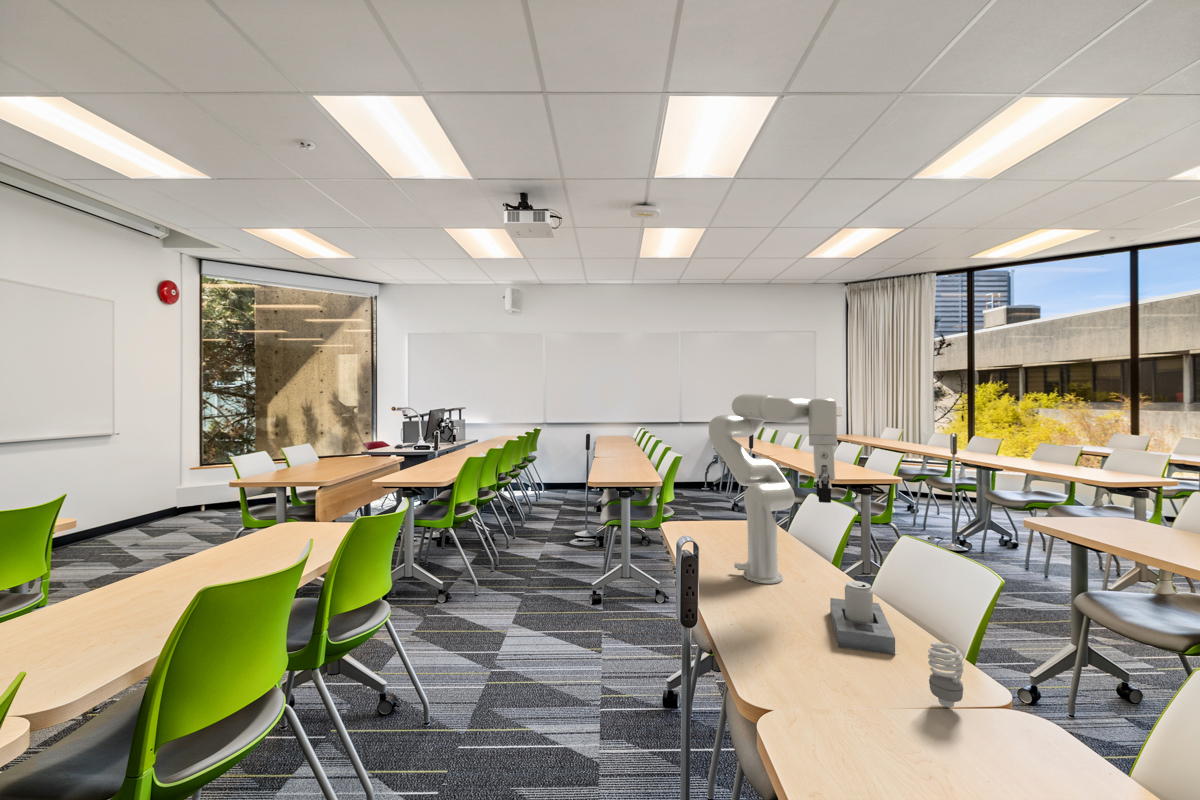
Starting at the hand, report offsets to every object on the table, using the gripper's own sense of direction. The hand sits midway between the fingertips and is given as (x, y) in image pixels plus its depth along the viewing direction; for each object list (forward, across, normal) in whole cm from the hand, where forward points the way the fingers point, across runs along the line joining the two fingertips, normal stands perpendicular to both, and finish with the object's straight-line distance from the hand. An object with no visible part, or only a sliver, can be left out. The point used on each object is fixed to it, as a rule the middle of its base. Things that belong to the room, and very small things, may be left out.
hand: (823, 499), depth 148 cm
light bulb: (+31, -48, -18) cm, 60 cm away
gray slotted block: (+30, -17, -7) cm, 35 cm away
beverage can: (+31, -17, -7) cm, 35 cm away
